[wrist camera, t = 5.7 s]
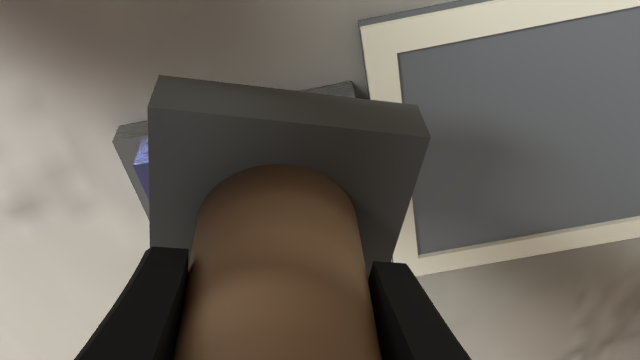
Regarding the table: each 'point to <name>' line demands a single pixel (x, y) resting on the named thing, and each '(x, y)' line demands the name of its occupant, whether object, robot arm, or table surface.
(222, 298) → the stamp
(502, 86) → the marked square
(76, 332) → the table surface
